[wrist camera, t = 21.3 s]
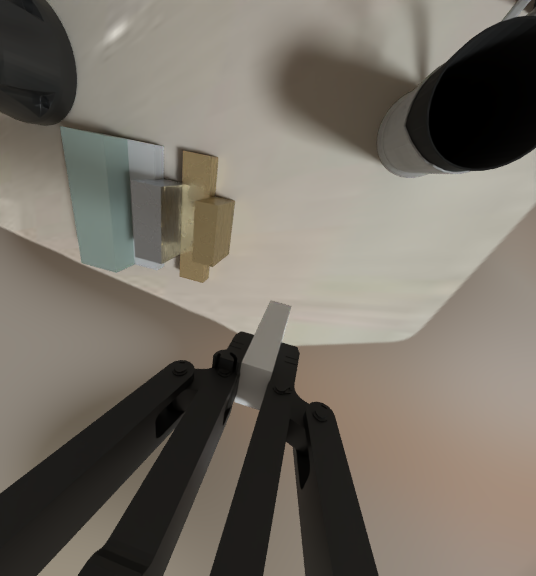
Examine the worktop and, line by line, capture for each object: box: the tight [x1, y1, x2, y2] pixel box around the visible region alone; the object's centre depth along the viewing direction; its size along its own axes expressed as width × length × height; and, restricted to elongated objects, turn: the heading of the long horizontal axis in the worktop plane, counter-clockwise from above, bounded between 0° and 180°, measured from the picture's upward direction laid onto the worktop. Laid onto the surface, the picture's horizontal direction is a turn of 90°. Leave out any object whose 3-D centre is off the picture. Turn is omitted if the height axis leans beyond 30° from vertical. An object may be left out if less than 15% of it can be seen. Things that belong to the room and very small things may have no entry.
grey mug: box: [377, 0, 536, 178], centre depth 20 cm, size 9×14×15 cm, turn 156°
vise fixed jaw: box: [60, 126, 164, 273], centre depth 37 cm, size 10×18×6 cm, turn 170°
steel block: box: [131, 179, 182, 264], centre depth 36 cm, size 4×10×7 cm, turn 170°
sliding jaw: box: [180, 151, 235, 283], centre depth 35 cm, size 7×18×6 cm, turn 170°
